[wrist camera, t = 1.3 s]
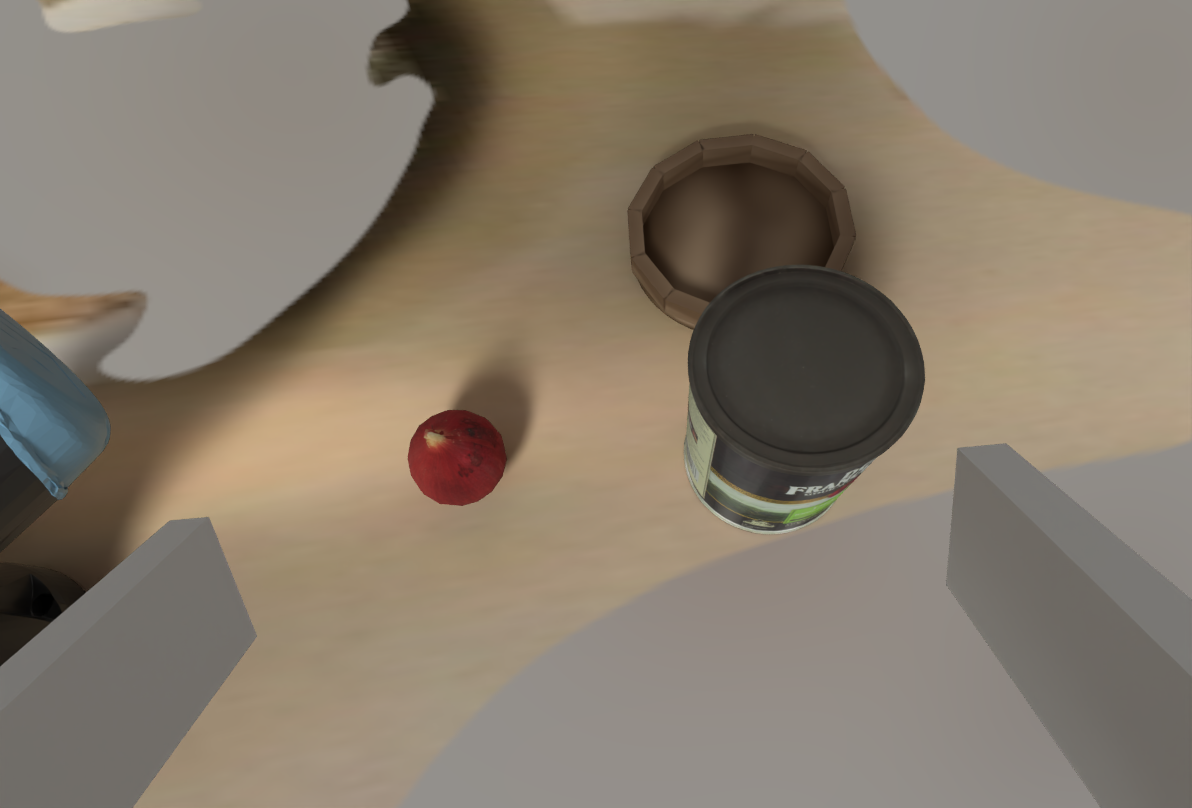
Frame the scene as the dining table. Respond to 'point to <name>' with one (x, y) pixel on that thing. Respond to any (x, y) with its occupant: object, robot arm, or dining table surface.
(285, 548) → the dining table surface
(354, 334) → the dining table surface
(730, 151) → the tray
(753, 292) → the coffee can
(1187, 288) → the dining table surface
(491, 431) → the onion
